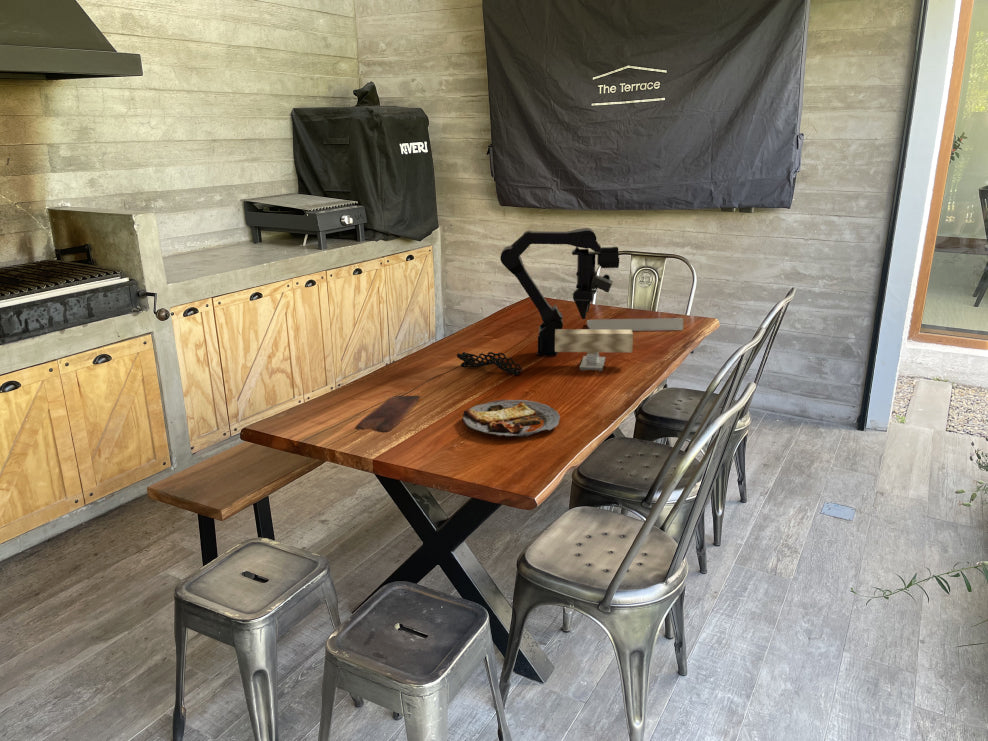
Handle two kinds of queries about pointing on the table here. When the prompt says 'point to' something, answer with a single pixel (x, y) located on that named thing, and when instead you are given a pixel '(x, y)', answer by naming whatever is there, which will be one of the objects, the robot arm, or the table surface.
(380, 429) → the wooden tablet
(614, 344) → the maple beam
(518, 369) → the decorative element
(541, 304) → the robot arm
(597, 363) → the ridge
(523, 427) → the food plate
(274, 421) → the table surface
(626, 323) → the decorative molding
